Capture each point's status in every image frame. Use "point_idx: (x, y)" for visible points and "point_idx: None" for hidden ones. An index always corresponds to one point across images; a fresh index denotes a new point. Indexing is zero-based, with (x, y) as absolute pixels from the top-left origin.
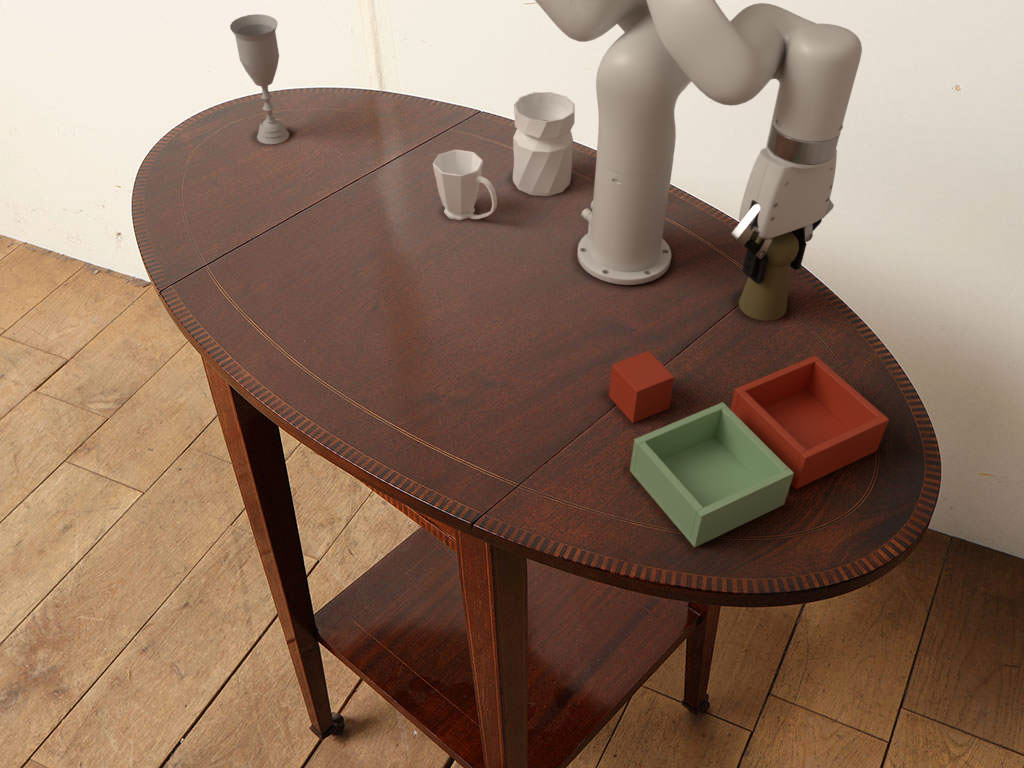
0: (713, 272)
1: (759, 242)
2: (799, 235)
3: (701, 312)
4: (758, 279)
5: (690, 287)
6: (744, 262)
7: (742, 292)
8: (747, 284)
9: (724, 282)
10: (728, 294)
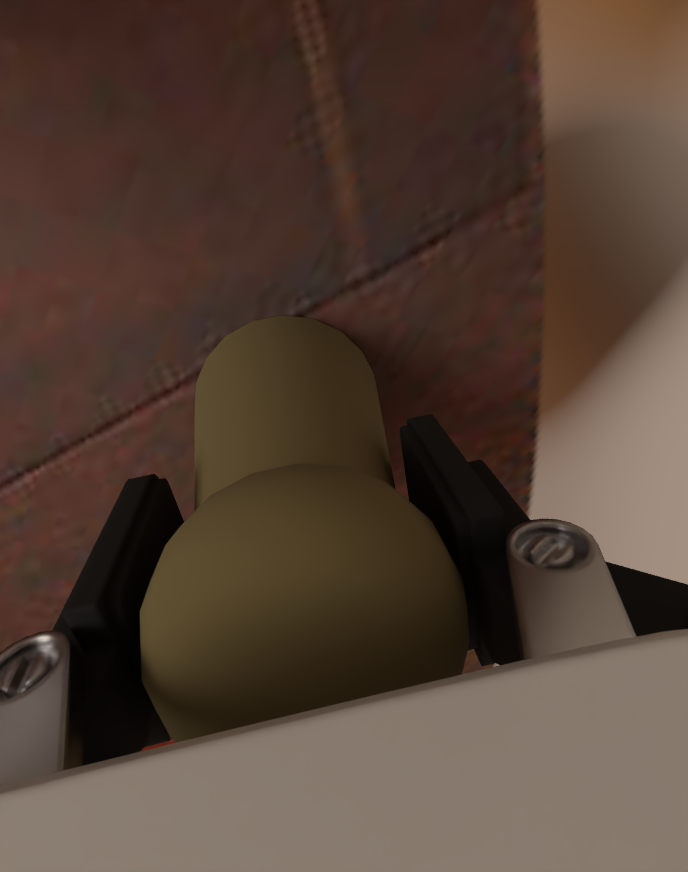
0: (167, 105)
1: (143, 665)
2: (501, 654)
3: (18, 379)
4: None
5: (3, 191)
6: (115, 510)
7: (204, 382)
8: (195, 437)
9: (194, 209)
10: (180, 300)
